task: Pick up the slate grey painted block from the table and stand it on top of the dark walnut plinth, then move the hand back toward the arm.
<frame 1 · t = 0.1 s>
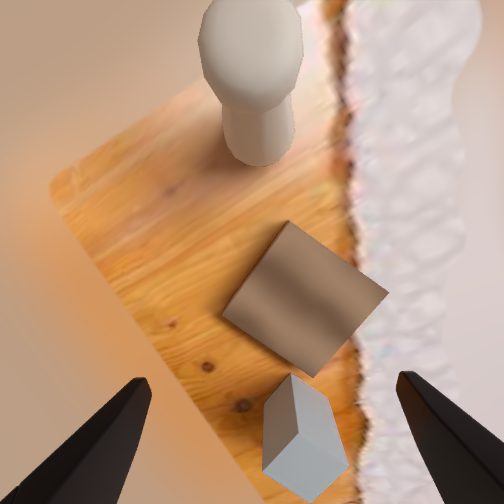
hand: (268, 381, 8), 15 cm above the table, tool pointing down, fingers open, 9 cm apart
salt shaker: (260, 138, 21), on the table
slate block: (295, 400, 26), on the table
walnut plinth: (299, 296, 24), on the table
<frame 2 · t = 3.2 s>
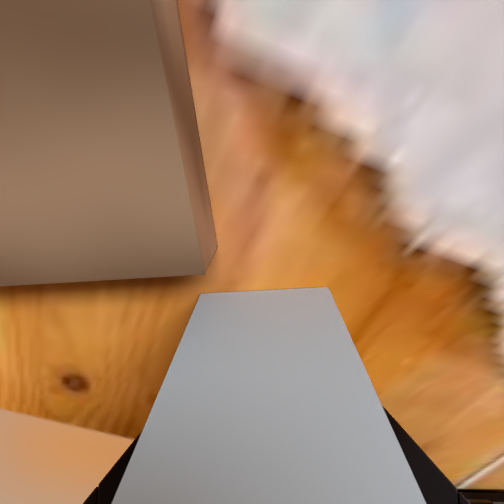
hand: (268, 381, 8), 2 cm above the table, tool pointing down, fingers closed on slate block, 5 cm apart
slate block: (267, 338, 10), on the table, touching gripper
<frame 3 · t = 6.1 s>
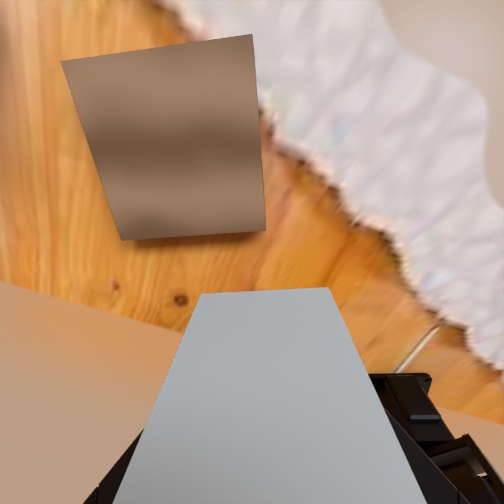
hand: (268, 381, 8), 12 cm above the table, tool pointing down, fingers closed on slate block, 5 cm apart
slate block: (267, 338, 10), point 10 cm above the table, touching gripper
walnut plinth: (184, 154, 17), on the table
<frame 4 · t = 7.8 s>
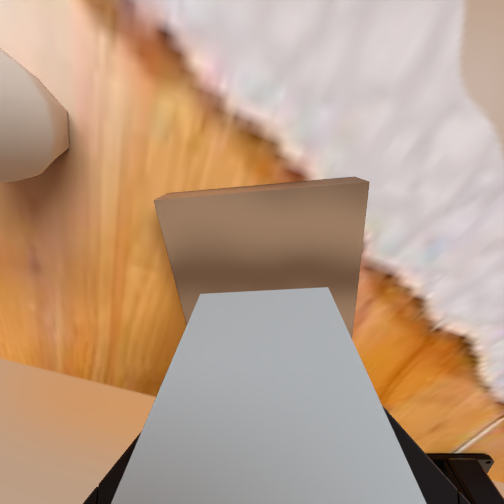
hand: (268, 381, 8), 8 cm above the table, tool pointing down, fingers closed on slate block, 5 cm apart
salt shaker: (36, 120, 13), on the table
slate block: (267, 338, 10), point 6 cm above the table, touching gripper
walnut plinth: (264, 267, 16), on the table
when the fingers open (5 cm above the table, at t = 9.2 s): slate block drops 1 cm, resting on walnut plinth.
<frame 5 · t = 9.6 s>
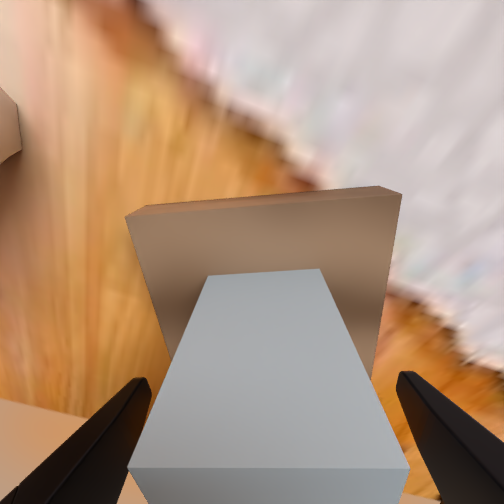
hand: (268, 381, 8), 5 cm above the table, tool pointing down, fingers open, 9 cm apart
slate block: (266, 316, 12), point 2 cm above the table, touching walnut plinth
walnut plinth: (265, 293, 13), on the table
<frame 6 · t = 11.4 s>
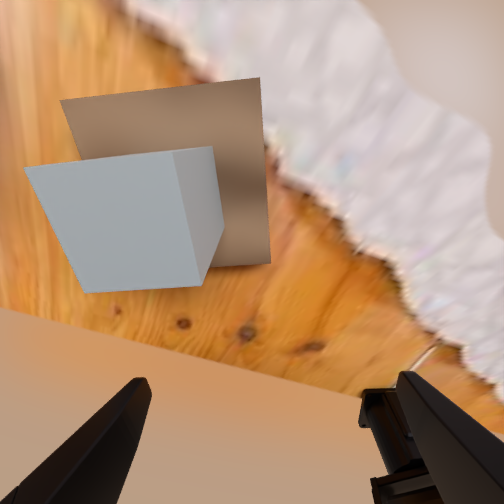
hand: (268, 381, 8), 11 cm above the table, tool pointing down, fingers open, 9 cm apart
slate block: (180, 193, 15), point 2 cm above the table, touching walnut plinth
walnut plinth: (188, 187, 17), on the table
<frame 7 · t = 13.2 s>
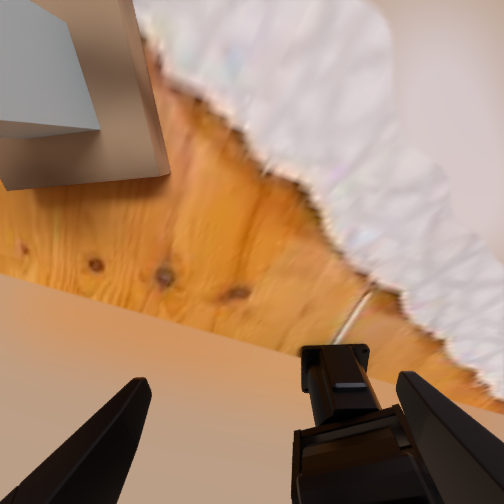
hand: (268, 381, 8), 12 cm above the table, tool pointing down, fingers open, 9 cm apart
slate block: (44, 86, 14), point 2 cm above the table, touching walnut plinth
walnut plinth: (70, 93, 15), on the table
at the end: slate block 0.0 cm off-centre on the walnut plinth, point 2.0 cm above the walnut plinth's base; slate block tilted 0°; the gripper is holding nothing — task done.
